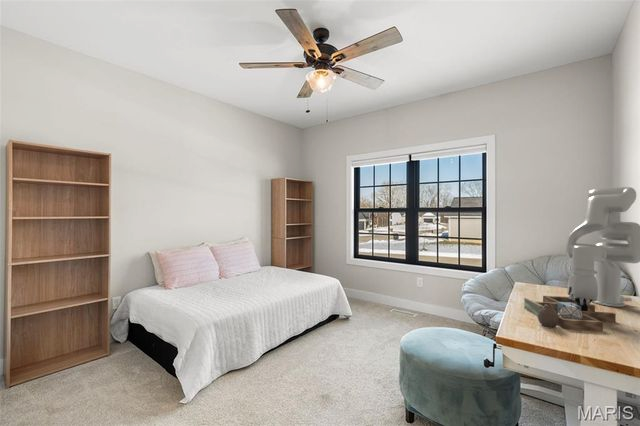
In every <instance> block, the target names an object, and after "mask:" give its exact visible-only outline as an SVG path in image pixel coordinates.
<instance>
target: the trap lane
mask: <svg viewBox="0 0 640 426" xmlns="http://www.w3.org/2000/svg"><path fill="white" fill-rule="evenodd" d="M558 302H571V303H574V304H576V305H578V303H576V301H575V300H571V299H569V296H561V295H560V296H559V295H542V301H534V300H532V299H530V298H528V297H524V307H523V308H524V309H525V310H526V311H528V312H530V313H532V314H533V315H535V316H536V317H538V312H539V310H540V309H541V308H542V307H543V306H544V305H545V304H550V305H552V306H553V308H554V309H555V311H556V312H557V309H558ZM581 312H582V313H583V312H584V314H582V319H584V320H575V319H564V318H563V317H561V316H559V315H560V314H558V316H559V323H558V325H557V326H558V327H560V328H561V329H563V330H578V331H591V332H592V331H594V332H595V331H597V332H604V322H609V323H610V322H611V323H616V321H617V320H616V319H617V318H616V315H617V314H616V312H615V313H614V312H607V311H596V304H592V303H589V305H588V311H581Z"/></svg>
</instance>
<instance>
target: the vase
mask: <svg viewBox="0 0 640 426" xmlns="http://www.w3.org/2000/svg"><path fill="white" fill-rule="evenodd" d="M558 315H559V313H558V312H557V311H555V309H554V308H553V306H552V305H550V304H545V305H544V306H543V307H542V308H541V309H540V310H539V312H538V316H537V319H538V322H539V324H540V325H541V326H543V327H545V328H547V329H548V328H549V329H553V328H556V327H557V326H558V323H559V316H558Z"/></svg>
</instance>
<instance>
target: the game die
mask: <svg viewBox="0 0 640 426" xmlns="http://www.w3.org/2000/svg"><path fill="white" fill-rule="evenodd" d="M563 306H564V307H563V308H561V309H560V308H559V309H560V313H559V314H558V315H559V316H561V317H563V318H564V319H575V320H584V319H582V314H584V312H583V313H582V312H581V311H580V310H579V308H580V307H578V308H577V307H575V306H573V305H572V303H571V305H567V306H565V305H564V304H563Z"/></svg>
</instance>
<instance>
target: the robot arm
mask: <svg viewBox="0 0 640 426" xmlns="http://www.w3.org/2000/svg"><path fill="white" fill-rule="evenodd" d="M587 196H588V199H587V200H586V205H585V210H584V216H583V221H582V223H581V224H580V225H578V226H577V227H575V228H574V229H573V230H572V231H571V232H570V233H569V235H568V237H567V242H566V246H565V253H566V256H567V257H568V258H570V259H571V260H572V266H571V267H572V268H571V270H572V271H571V274H570V275H569V277H568V281H567V282H568V283H567V288H566V290H567V291H566V293H567V294H566V295H568V297H569V299H571V300H575V301H576V303H578V305H579V306H581V311H588V305H589V304H592V303H595V304H597V305H600V306H607V307H614V308H615V307H616V308H622V307H623V308H624V307H625V306H626V304H625V302H630V303H631V302H632V300H633V299H632V297H625V296H622V294H621V293H622V291H621V290H622V287H621V286H622V285H621V284H622V271H621V268H620V267H619V265H617V264H616V263H623V264H626V263H627V264H638V263H640V224H639V223H637V222H634V221H621V213H626V212H627V211H628V210H629V209H630V208H631V207H632V205H633V204H634V203H635V202H636V199H637V191H636V190H635V188H634V187H629V186H622V187H621V186H619V187H618V186H617V187H600V188H593V189H591V190H589V191H588V193H587ZM594 232H597V235H598V236H597V237H598V238H600V239H602V240H608V241H619V242H621V241H623V242H627V243H619V242H605V241H602V242H598V243H595V244H589V243H577V242H578V240H579V239H580V238H581V237H583V236H585V235H589V234H591V233H594Z"/></svg>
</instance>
